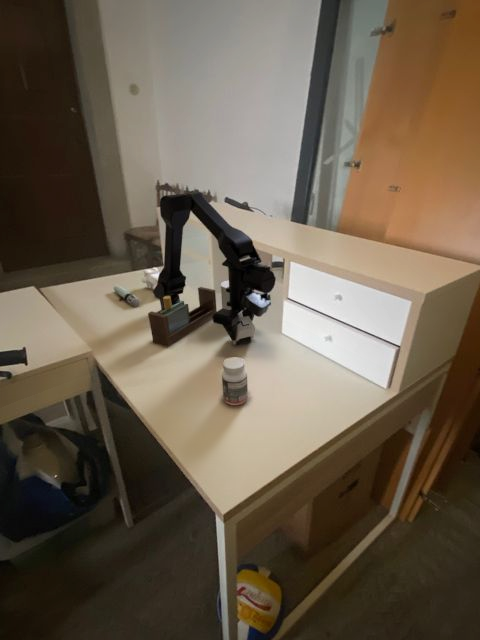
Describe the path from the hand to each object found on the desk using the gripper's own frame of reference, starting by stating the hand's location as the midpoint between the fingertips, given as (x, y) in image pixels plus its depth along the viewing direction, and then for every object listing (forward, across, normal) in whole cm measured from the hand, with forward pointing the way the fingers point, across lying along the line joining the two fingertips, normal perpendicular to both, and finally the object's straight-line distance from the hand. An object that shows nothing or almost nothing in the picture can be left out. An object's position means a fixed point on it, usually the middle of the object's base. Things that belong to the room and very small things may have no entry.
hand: (241, 334), depth 103 cm
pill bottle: (+3, -23, -13) cm, 27 cm away
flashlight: (+3, +6, +56) cm, 56 cm away
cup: (+3, +13, +11) cm, 17 cm away
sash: (+1, -5, +21) cm, 22 cm away
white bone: (+3, +18, +50) cm, 53 cm away
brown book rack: (+3, -1, +20) cm, 20 cm away
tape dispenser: (+3, 0, 0) cm, 3 cm away
